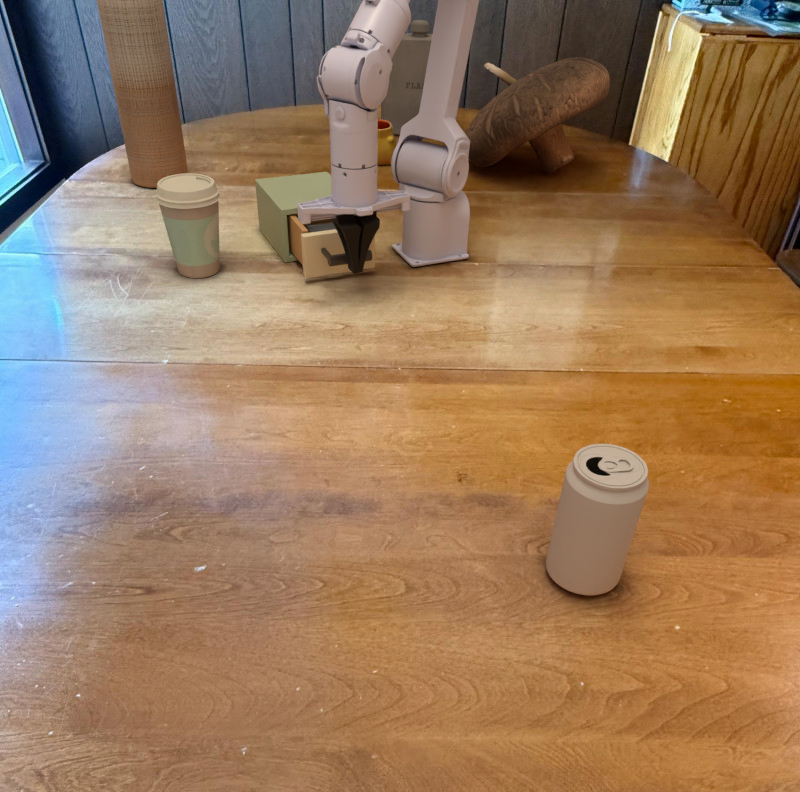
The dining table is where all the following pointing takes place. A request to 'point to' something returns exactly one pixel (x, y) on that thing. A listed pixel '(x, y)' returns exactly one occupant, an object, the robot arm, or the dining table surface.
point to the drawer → (321, 249)
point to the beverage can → (596, 518)
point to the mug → (385, 142)
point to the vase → (144, 88)
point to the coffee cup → (191, 222)
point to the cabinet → (286, 204)
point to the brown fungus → (537, 111)
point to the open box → (320, 227)
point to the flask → (407, 77)
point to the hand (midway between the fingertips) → (355, 270)
